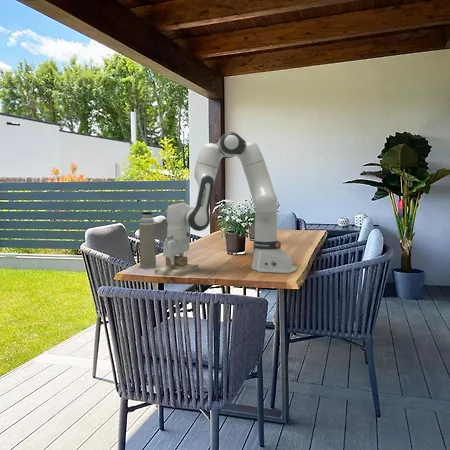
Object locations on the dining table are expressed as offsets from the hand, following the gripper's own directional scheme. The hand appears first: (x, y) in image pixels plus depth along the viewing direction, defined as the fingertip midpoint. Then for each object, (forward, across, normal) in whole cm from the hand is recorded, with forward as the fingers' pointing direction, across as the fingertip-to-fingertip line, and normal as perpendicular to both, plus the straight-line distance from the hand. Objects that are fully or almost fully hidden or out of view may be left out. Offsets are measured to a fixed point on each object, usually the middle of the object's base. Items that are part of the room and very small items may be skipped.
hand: (176, 263), depth 219 cm
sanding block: (+2, 0, 0) cm, 2 cm away
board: (+4, 0, 0) cm, 4 cm away
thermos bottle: (+4, +4, +19) cm, 20 cm away
